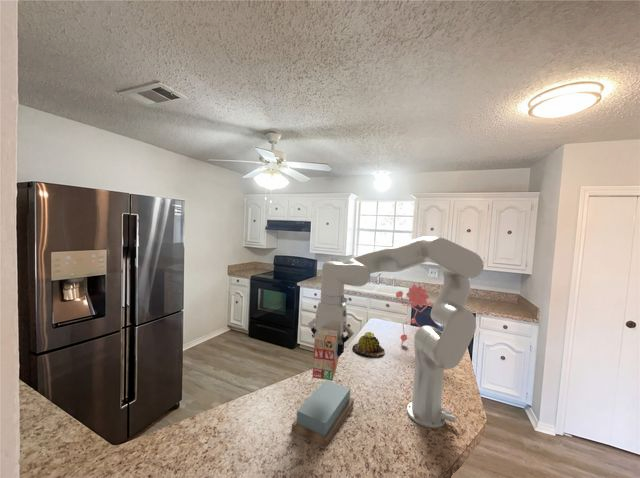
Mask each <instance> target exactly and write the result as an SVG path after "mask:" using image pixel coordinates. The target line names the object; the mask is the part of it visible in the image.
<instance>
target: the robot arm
mask: <svg viewBox="0 0 640 478" xmlns="http://www.w3.org/2000/svg"><path fill="white" fill-rule="evenodd" d="M428 262H429V263H432V264H437V265H438V266H439V267H440V269H441V272H442V275H443V284H442V286H441V289H440V291H439V294H438V296H437V297H436V299H435V302H434V304H433V307H431V309H430V310H431V311H430V318H431V320H432V321H433V322H434V323H435V324H436V325H437V326H438V327H440V328H442V331H441V330H440V329H438V328H437V327H435V326H432V325H422V326H420V327H418V328H417V330H416V332H415V333H414V337H413V344H414V345H413V346H414V372H413V383H412V384H413V386H412V398H411V399H412V400H411V401H410V402H409V403H408V404H407V406H406V412H407V415H408V416H409V418H410V420H412V421H413V422H415V423H416V424H417V425H420V426H423V427H425V428H430V429H439V428H442V427H443V426H444V425H445V423H446V421H449V422H452V423H456V415H453V414H452V413H453V412H452V411H451V410H448V409H445V408H444V407H443V402H442V401H443V390H444V389H443V388H444V377H445V376H444V375H445V370H446V371H447V370H448V371H449V370H453V369H454V368H456V367H457V366H458V365H459V364H460V363H461V361H462V359H463V358H464V356H465V354H466V352H467V350H468V348H469V346H470V343H471V342H472V339H474V336H475V333H476V329H477V319H476V317H475V315H474V314H473V312H472V311H471V310H469V309H468V308H465V306H466V302H467V300H468V298H469V295H470V292H471V284H470V283H471V282H470V279H474V278H477V277H479V276H480V275H481V274H482V273H483V270H484V264H485V263H484V261H483V259H482V258H481V256H480V255H479V254H478V253H476V252H474V251H472V250H470V249H468V248H466V247H464V246H461V245H460V244H458V243H455V242H453V241H451V240H448V239H447V238H444V237H441V236H432V235H431V236H429V235H427V236H421V237H418V238H414V239H411V240H410V241H406V242H404V243H400V244H398V245H395V246H392V247H389V248H384V249H383V248H382V249H381V250H377V251H371V252H368V253H365V254H361V255H359V256H356V257H353V258H350V259H348V260H346V261H345V262H342V261H332V260H328V261H325V262H324V263H323V264H322V267H321V268H322V269H321V283H320V286H321V289H320V300H319V301H318V303H317V308H316V312H315V318H314V319H312V320H311V321H309V322H308V324H307V325H308V327H309V329H310V331H311V332H312V334H313V337H314V338H315V337H316V335H317V333H318V331H319V330H320V328H321V327H322V328H326V329H329V330H334V331H338V341H339V344H338V349H337V355H338V356H339V357H340V356H341V355H342V354H343V353H344V352H345V343H346V342H347V341H349V340H350V339H351V338H352V337H353V336H354V335H355V333H354V331H353V330H352V329H351V328H350V327H349V326H348V315H347V313H348V312H347V306H346V305H347V304H346V303H347V302H348V298H347V297H345V294H344V292H345V286H352V287H364V286H365V285H367V284H368V283H369V281H370V279H371V274H373V273H380V272H381V273H382V272H383V273H385V272H387V273H396V272H402V271H405V270H407V269H411V268H413V267H416V266H418V265H422V264H425V263H428ZM345 333H346V335H345Z"/></svg>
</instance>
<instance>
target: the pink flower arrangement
mask: <svg viewBox="0 0 640 478" xmlns="http://www.w3.org/2000/svg"><path fill="white" fill-rule="evenodd" d="M408 291H409V292H407V293H406V296H407V298H408V302H409V303H412V304H411V305H410V304H409V305H408V304H404V301H403V295H404V292H403V291H402V290H399V291H397V292H396V293H395V297H396V298H397V299H400V298H401V305H402V306H405V307H411V308H412V309H414V310H415V313H414V315H413V316H414V317H413V318H411V319H410V320H409V321H407V322H403V323H402V329H403V330H402V331H403V332H405V327H404V325H405V324H408V323H412V324H416V325H417V326H418V328H420V327H421V326H420V324H418V323H417V320H416V315H417V314H418V312H419V313H422V312H423V311H424V310H426V308H427V307H428V306H429V305H430V307H431V308H433V305H434V304H433V303H432V302H431V301H429V302H428V301H427V300H428V299H429V295H428V294H427V289H426V288H423V286H422V285H419V286H416V284H413V285H412V287H409V289H408ZM424 305H426V306H424ZM416 306H417V307H420V308H422V309H421V310H420V309H418V308H416ZM408 339H410V340H412V338H410V337H408V335H407V334H405V333H403V334H402V335H400V340H401V344H400V345H401V346H403V343H404V342H406V341H407V340H408Z"/></svg>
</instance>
